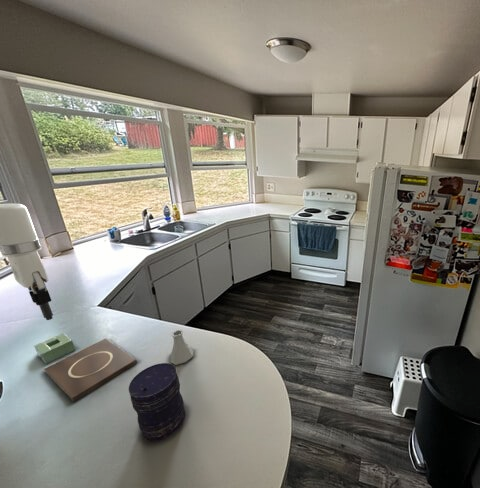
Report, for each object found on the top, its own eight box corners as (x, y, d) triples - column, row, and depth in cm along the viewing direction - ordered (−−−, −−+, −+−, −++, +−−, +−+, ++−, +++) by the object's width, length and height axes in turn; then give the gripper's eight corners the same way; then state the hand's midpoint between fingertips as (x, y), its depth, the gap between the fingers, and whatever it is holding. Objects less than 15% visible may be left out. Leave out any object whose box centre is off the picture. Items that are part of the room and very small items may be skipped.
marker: (46, 321, 79) (33, 288, 75) (43, 319, 80) (30, 286, 76) (55, 318, 81) (43, 285, 77) (52, 316, 82) (40, 283, 78)
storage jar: (158, 403, 70) (147, 361, 65) (193, 405, 70) (185, 363, 64) (131, 441, 60) (116, 396, 55) (171, 444, 60) (160, 399, 55)
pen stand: (46, 363, 81) (42, 354, 80) (38, 355, 84) (33, 345, 83) (75, 349, 87) (71, 340, 86) (66, 342, 90) (63, 333, 89)
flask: (189, 345, 90) (185, 323, 87) (196, 357, 86) (192, 333, 82) (167, 356, 86) (161, 332, 82) (173, 368, 81) (167, 343, 77)
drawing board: (73, 402, 69) (71, 397, 69) (45, 372, 78) (43, 368, 77) (137, 362, 83) (136, 358, 82) (107, 341, 91) (105, 337, 91)
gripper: (-8, 245, 72) (16, 300, 79) (9, 257, 65) (34, 316, 72) (30, 238, 79) (49, 289, 85) (49, 248, 72) (69, 303, 78)
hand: (42, 301), depth 78 cm, fingers closed on marker, 2 cm apart
